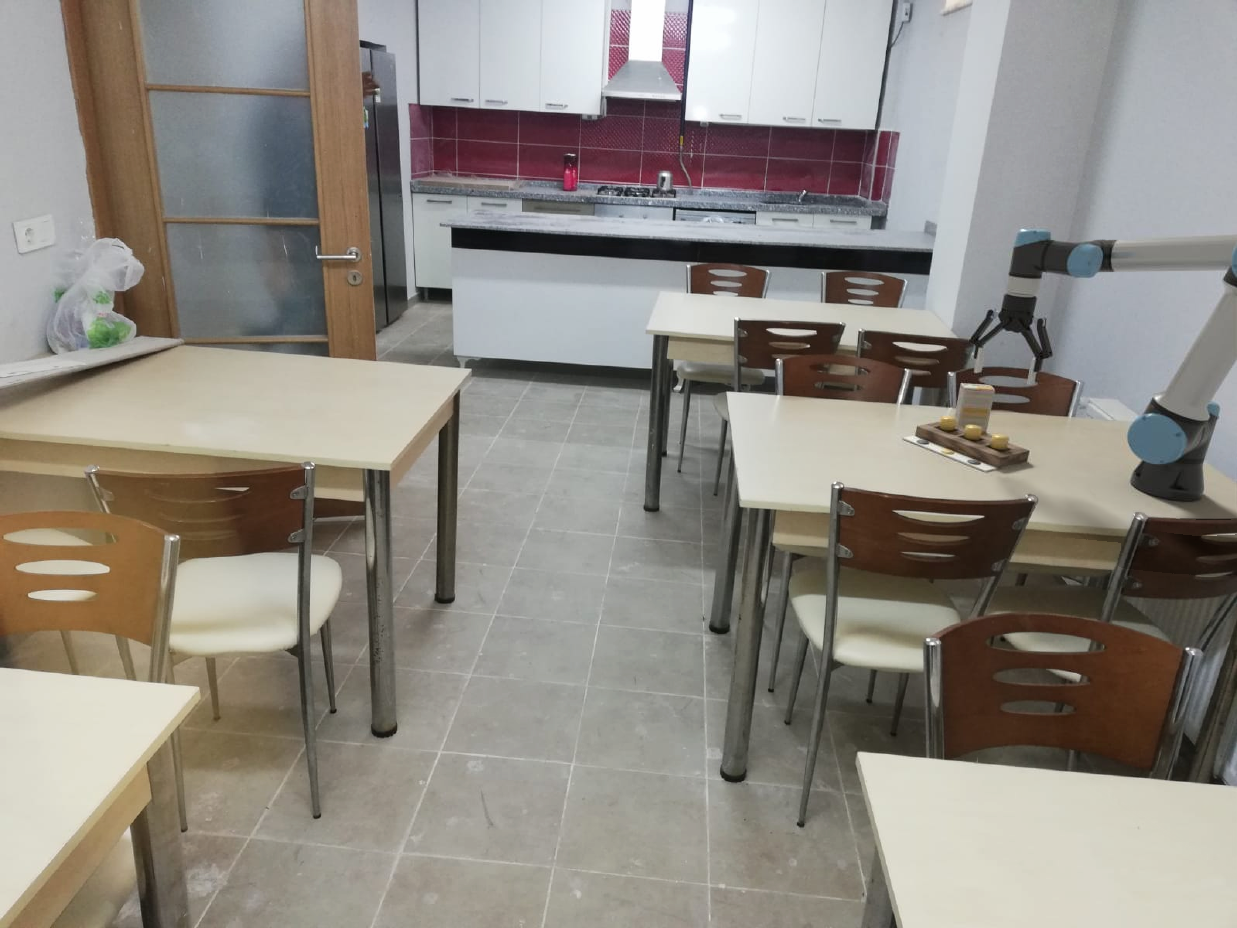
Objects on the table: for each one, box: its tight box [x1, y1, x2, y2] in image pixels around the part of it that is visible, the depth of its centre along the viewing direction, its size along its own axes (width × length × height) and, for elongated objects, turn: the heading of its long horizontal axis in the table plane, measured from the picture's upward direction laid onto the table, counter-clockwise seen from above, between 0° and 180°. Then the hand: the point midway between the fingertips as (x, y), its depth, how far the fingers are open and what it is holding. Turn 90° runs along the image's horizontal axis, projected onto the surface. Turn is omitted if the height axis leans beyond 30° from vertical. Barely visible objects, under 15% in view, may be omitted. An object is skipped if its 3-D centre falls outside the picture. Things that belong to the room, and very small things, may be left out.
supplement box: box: [953, 382, 996, 435], centre depth 243 cm, size 8×5×13 cm, turn 84°
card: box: [901, 435, 997, 473], centre depth 226 cm, size 26×4×1 cm, turn 32°
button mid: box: [964, 425, 982, 440], centre depth 229 cm, size 4×4×3 cm
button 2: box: [990, 433, 1010, 450], centre depth 223 cm, size 4×4×3 cm
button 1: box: [939, 415, 957, 431], centre depth 235 cm, size 4×4×3 cm
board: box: [914, 421, 1030, 470], centre depth 230 cm, size 26×12×3 cm, turn 33°
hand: (1003, 378), depth 221 cm, fingers open, 13 cm apart
